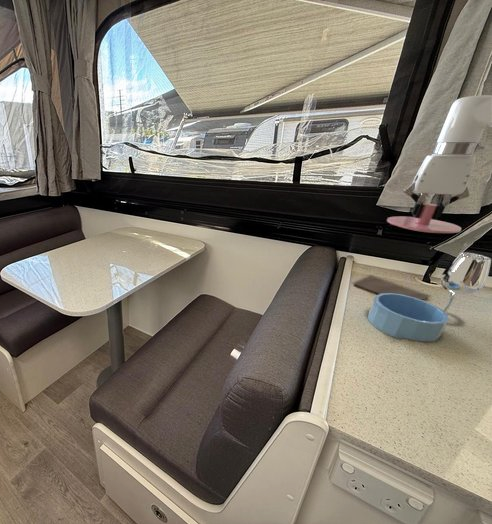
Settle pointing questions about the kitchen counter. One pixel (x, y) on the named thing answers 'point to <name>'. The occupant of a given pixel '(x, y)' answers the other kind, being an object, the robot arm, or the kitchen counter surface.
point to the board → (386, 288)
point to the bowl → (407, 317)
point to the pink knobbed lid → (424, 222)
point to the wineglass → (465, 275)
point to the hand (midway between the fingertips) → (424, 217)
